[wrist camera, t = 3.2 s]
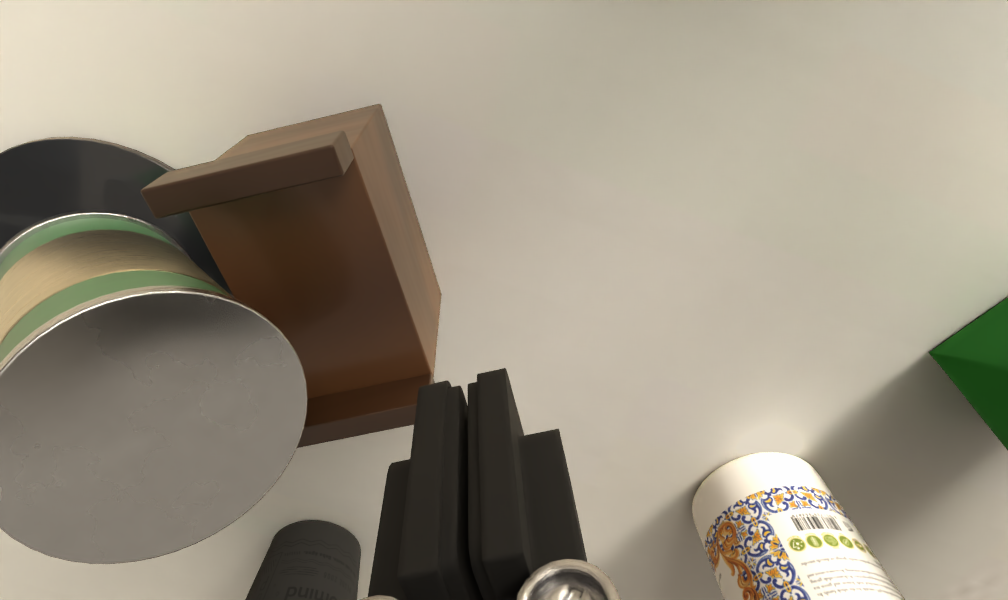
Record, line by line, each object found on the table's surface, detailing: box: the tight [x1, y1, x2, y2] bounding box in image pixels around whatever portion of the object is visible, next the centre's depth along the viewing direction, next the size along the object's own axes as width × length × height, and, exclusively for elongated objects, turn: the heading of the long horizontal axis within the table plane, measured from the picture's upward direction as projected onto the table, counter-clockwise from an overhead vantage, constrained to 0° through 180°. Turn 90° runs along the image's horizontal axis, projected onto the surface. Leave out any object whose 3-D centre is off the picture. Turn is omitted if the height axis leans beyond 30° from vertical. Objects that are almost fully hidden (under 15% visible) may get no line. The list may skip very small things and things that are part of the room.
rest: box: [141, 104, 441, 448], centre depth 19 cm, size 9×5×7 cm, turn 12°
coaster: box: [0, 137, 234, 298], centre depth 23 cm, size 11×11×1 cm
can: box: [0, 210, 308, 564], centre depth 17 cm, size 7×12×13 cm, turn 102°
